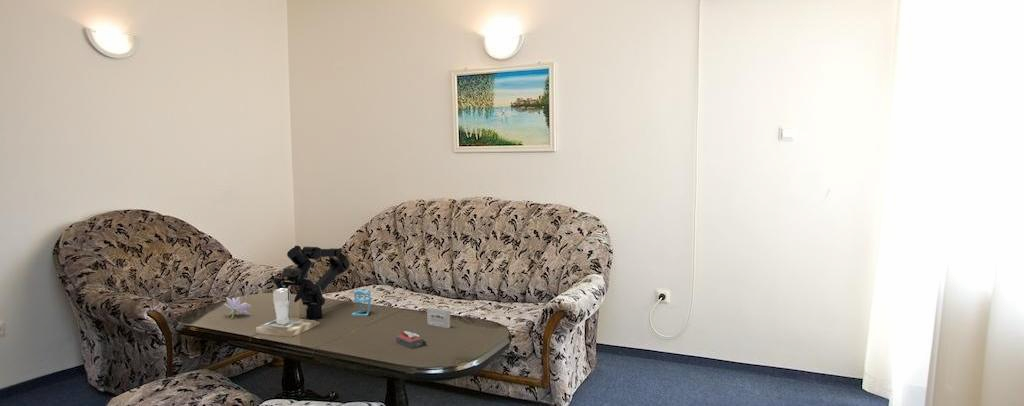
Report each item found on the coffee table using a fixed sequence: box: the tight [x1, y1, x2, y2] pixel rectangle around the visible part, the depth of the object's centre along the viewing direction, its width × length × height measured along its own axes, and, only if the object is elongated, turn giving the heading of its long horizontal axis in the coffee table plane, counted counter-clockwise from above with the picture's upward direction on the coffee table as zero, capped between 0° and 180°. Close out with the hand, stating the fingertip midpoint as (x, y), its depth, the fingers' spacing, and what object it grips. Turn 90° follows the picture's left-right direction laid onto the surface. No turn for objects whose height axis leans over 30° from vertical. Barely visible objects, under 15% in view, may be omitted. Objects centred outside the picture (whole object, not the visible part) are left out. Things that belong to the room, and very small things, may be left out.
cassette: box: [426, 306, 451, 329], centre depth 257 cm, size 12×2×8 cm, turn 59°
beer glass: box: [272, 287, 292, 326], centre depth 253 cm, size 7×7×15 cm
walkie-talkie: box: [395, 330, 427, 349], centre depth 237 cm, size 9×4×20 cm
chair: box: [351, 289, 373, 317], centre depth 278 cm, size 8×8×12 cm
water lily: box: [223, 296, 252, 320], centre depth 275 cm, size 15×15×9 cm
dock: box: [255, 317, 320, 338], centre depth 256 cm, size 18×18×4 cm
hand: (285, 301), depth 254 cm, fingers open, 9 cm apart
